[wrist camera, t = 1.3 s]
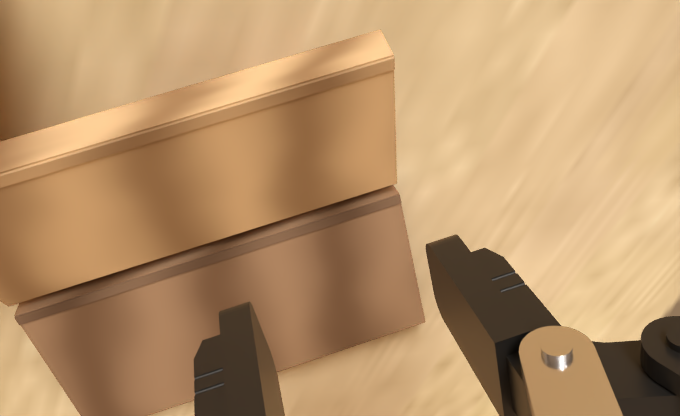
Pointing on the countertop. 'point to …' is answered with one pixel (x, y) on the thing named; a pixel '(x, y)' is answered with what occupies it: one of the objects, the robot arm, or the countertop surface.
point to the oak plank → (195, 165)
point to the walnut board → (229, 304)
